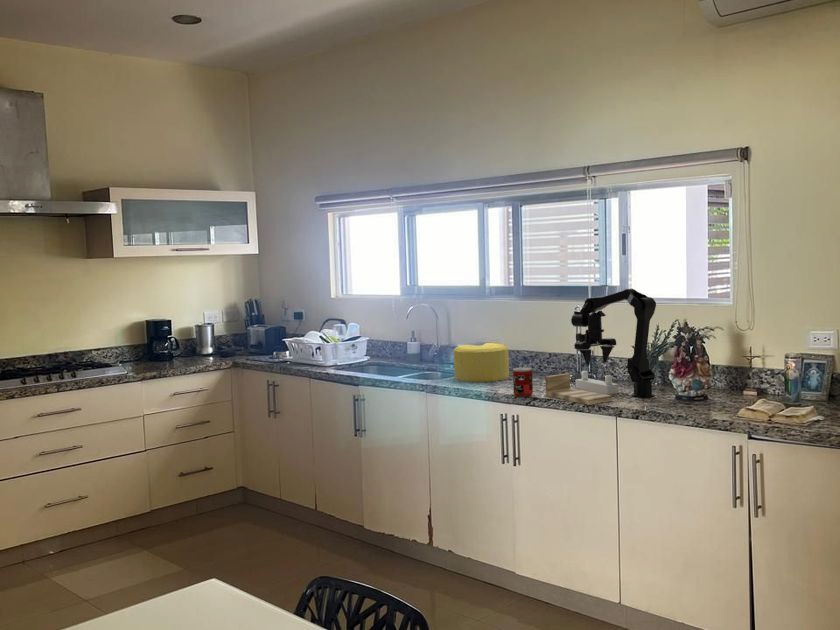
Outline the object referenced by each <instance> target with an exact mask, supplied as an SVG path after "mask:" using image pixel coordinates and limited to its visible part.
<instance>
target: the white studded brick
mask: <svg viewBox="0 0 840 630" xmlns="http://www.w3.org/2000/svg"><path fill="white" fill-rule="evenodd" d="M588 373H589V371H587V370H582V371H581V378H578V379H575V389H579V390H584V391H590V392H595V393H600V394H605V395H615V394H619V392H620V391H619V383H614V382H613V381H612V380H613V377H612V375H608V374H607V375H605V376H604V377H605V379H604V380H605V381H603V380H600V379H599V380H598V379H593V378H590V377H589V374H588Z"/></svg>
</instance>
